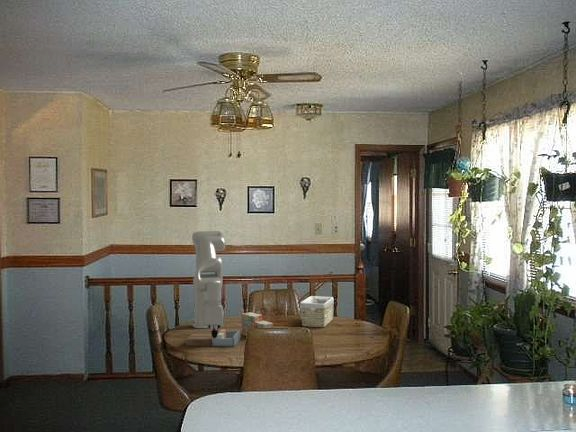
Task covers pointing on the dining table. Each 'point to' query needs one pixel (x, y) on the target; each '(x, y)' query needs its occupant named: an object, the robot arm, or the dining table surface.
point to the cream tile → (220, 335)
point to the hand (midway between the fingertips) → (214, 337)
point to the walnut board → (199, 339)
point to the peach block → (223, 332)
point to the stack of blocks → (253, 322)
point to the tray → (228, 339)
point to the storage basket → (316, 311)
